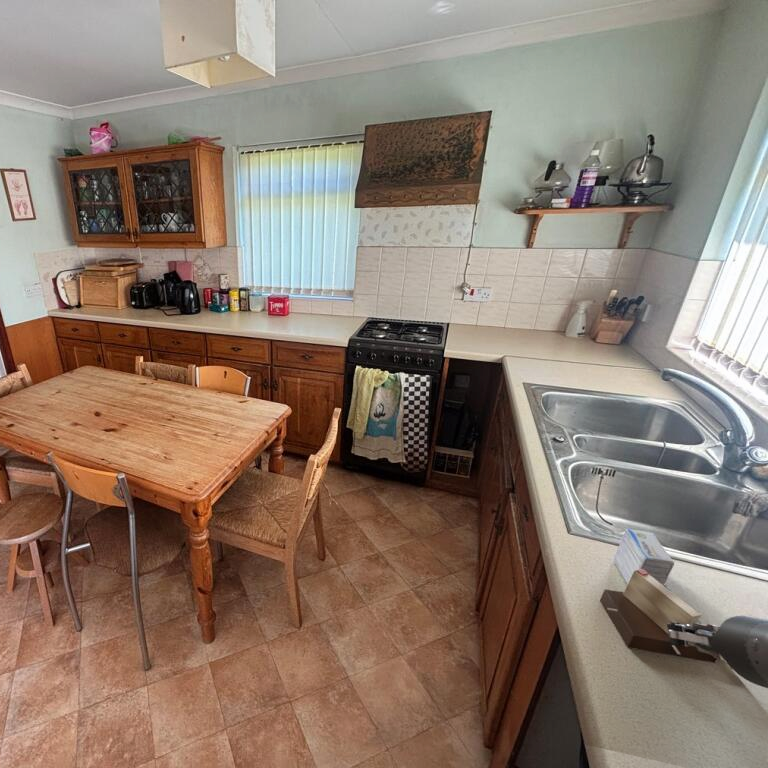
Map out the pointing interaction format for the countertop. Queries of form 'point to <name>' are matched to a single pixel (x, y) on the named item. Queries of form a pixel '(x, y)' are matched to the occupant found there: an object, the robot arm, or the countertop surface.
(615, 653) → the countertop surface
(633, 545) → the medicine box
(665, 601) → the dial pointer
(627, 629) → the dark brown flat slab
